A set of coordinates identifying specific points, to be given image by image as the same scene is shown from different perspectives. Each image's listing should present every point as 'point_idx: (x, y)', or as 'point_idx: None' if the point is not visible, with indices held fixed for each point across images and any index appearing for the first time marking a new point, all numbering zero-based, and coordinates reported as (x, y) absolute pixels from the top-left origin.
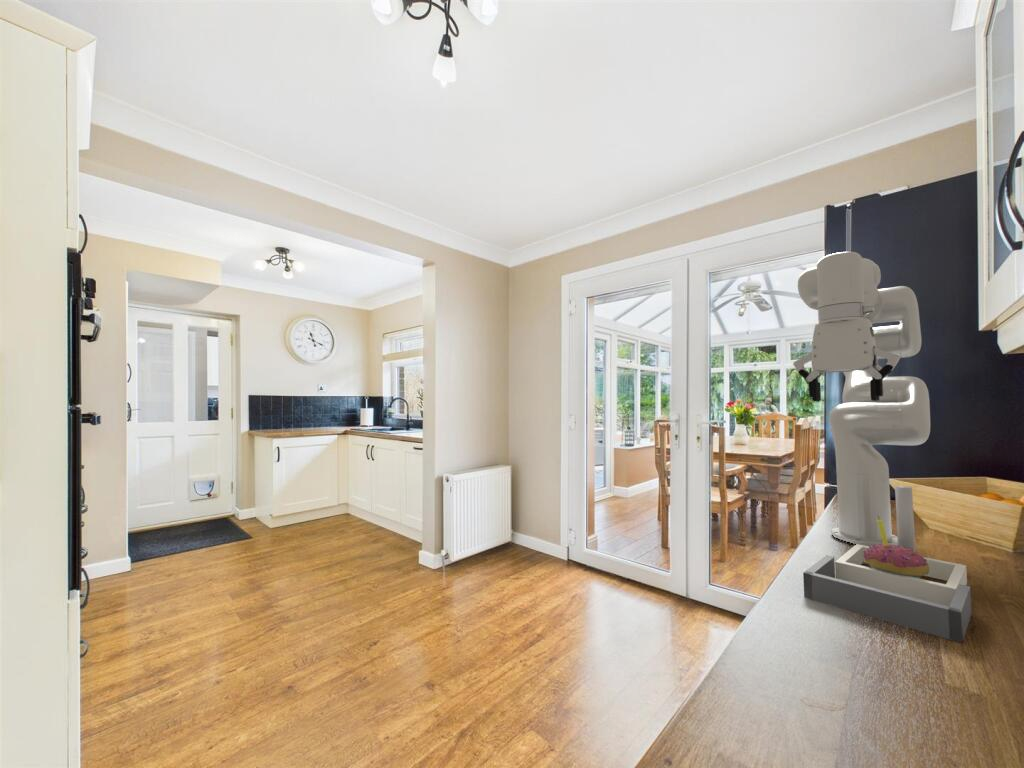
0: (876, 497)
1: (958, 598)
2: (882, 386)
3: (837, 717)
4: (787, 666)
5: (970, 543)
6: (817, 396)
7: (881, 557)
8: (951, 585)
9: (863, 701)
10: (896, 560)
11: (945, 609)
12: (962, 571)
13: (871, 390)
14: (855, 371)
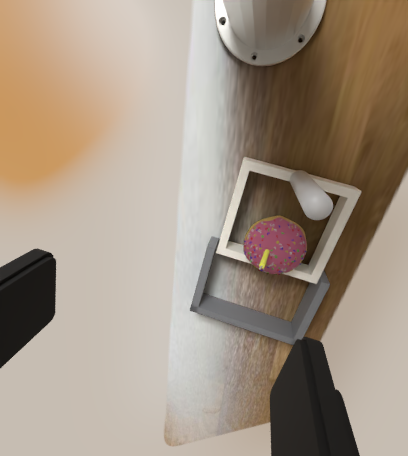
0: (293, 12)
1: (307, 318)
2: (355, 447)
3: (217, 416)
4: (194, 388)
5: None
6: (39, 312)
7: (258, 268)
8: (315, 275)
9: (228, 403)
10: (272, 273)
11: (289, 343)
12: (346, 220)
13: (275, 447)
14: None
